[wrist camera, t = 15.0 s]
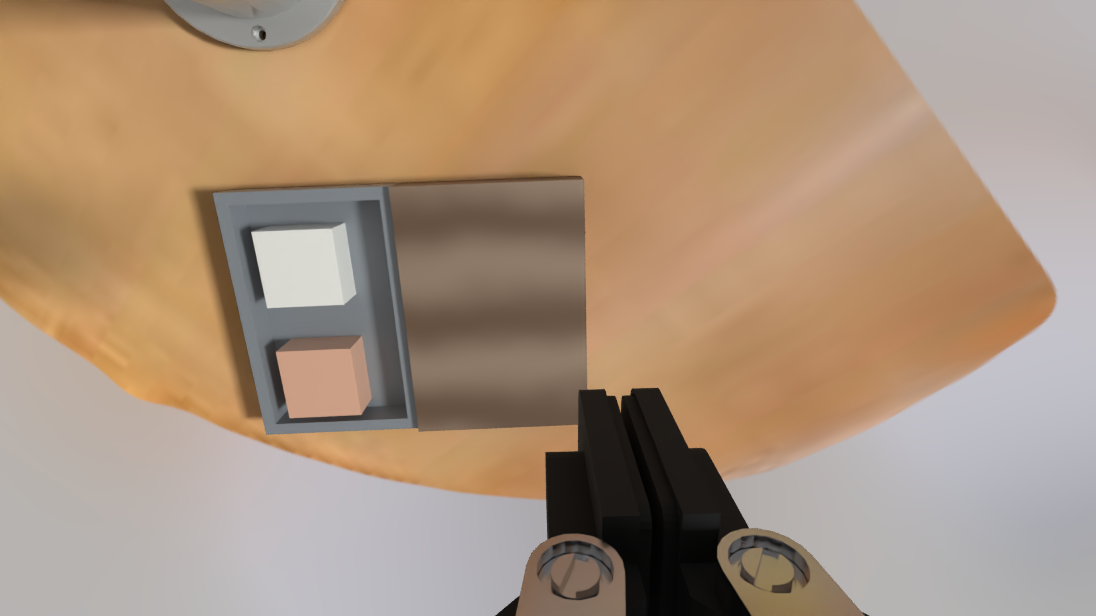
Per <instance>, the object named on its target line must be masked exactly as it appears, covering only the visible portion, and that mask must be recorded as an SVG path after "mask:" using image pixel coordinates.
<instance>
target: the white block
mask: <svg viewBox="0 0 1096 616" xmlns="http://www.w3.org/2000/svg"><path fill="white" fill-rule="evenodd" d="M251 233H252V238H253V243H254V247H255V252H256V257H257V262H258V267H259V271H260V276H261V281H262V286H263V290H264V295H265V300H266V305H267V308H283V307H305V306H328V305H344V304H345V303H347V302H348V301H349V300H350V299H351V298H352V297H353V296H355V295H356V290H355V283H354V277H353V270H352V264H351V257H350V251H349V245H348V238H347V232H346V225H345V223H321V224H298V225H274V226H268V227H265V228H262V229H259V230H256V231H253V232H251Z"/></svg>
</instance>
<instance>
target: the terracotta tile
mask: <svg viewBox="0 0 1096 616" xmlns="http://www.w3.org/2000/svg"><path fill="white" fill-rule="evenodd" d="M276 356H277V361H278V365H279V370H280V375H281V380H282V384H283V389H284V394H285V399H286V404H287V408H288V413H289V418H305V417H327V416H348V415H362V413H363V411H364V410H365V408H366V407H367V405H368V403H369V402H370V400H371V399H372V397H371V391H370V384H369V378H368V371H367V365H366V359H365V352H364V346H363V339H362V335H361V336H338V337H316V338H294V339H291V340H290V341H288V342H287V343H286V344H285V345H283V346H282V347H281V348H280V349H279V350H277V351H276Z"/></svg>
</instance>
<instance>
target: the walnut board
mask: <svg viewBox="0 0 1096 616" xmlns="http://www.w3.org/2000/svg"><path fill="white" fill-rule="evenodd" d="M389 195H390V203H391V211H392V219H393V227H394V235H395V243H396V251H397V260H398V268H399V276H400V284H401V292H402V300H403V308H404V316H405V324H406V332H407V340H408V348H409V356H410V364H411V373H412V381H413V389H414V397H415V405H416V413H417V421H418V429H419V432H420V431H442V430H465V429H488V428H511V427H534V426H557V425H578V394H579V390H587V346H586V278H585V209H584V179H583V178H582V177H581V176H569V177H543V178H517V179H491V180H465V181H438V182H412V183H399V184H396V185H393V186H390V187H389Z"/></svg>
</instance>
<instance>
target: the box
mask: <svg viewBox="0 0 1096 616" xmlns="http://www.w3.org/2000/svg"><path fill="white" fill-rule="evenodd" d="M396 184H399V183H386V184H360V185H334V186H308V187H282V188H255V189H233V190H227V191H221V192H216V193H213V198H214V202H215V207H216V211H217V216H218V220H219V225H220V229H221V234H222V238H223V243H224V247H225V252H226V256H227V261H228V265H229V270H230V274H231V278H232V283H233V287H234V292H235V296H236V301H237V305H238V310H239V314H240V319H241V323H242V328H243V332H244V337H245V341H246V346H247V350H248V355H249V359H250V364H251V368H252V373H253V377H254V382H255V386H256V391H257V395H258V400H259V404H260V409H261V413H262V417H263V422H264V426H265V431H266V435H269V434H292V433H314V432H337V431H360V430H383V429H406V428H418V421H417V413H416V405H415V397H414V389H413V381H412V373H411V364H410V356H409V348H408V340H407V332H406V324H405V316H404V308H403V300H402V292H401V284H400V276H399V268H398V260H397V251H396V243H395V235H394V227H393V219H392V211H391V203H390V195H389V187H390V186H393V185H396ZM321 223H345V225H346V232H347V238H348V245H349V251H350V257H351V264H352V270H353V277H354V283H355V290H356V295H355V296H353V297H352V298H351V299H350V300H349V301H348V302H347V303H345V304H344V305H328V306H305V307H283V308H267V305H266V300H265V295H264V290H263V286H262V281H261V276H260V271H259V267H258V262H257V257H256V252H255V247H254V243H253V238H252V233H251V232H253V231H256V230H259V229H262V228H265V227H268V226H274V225H298V224H321ZM361 335H362V339H363V346H364V352H365V359H366V365H367V371H368V378H369V384H370V391H371V397H372V399H371V400H370V402H369V403H368V405H367V407H366V408H365V410H364V411H363V413H362V415H348V416H327V417H305V418H289V413H288V408H287V404H286V399H285V394H284V389H283V384H282V380H281V375H280V370H279V365H278V361H277V356H276V351H277V350H279V349H280V348H281V347H282V346H283V345H285V344H286V343H287V342H288V341H290V340H291V339H294V338H316V337H338V336H361Z"/></svg>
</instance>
